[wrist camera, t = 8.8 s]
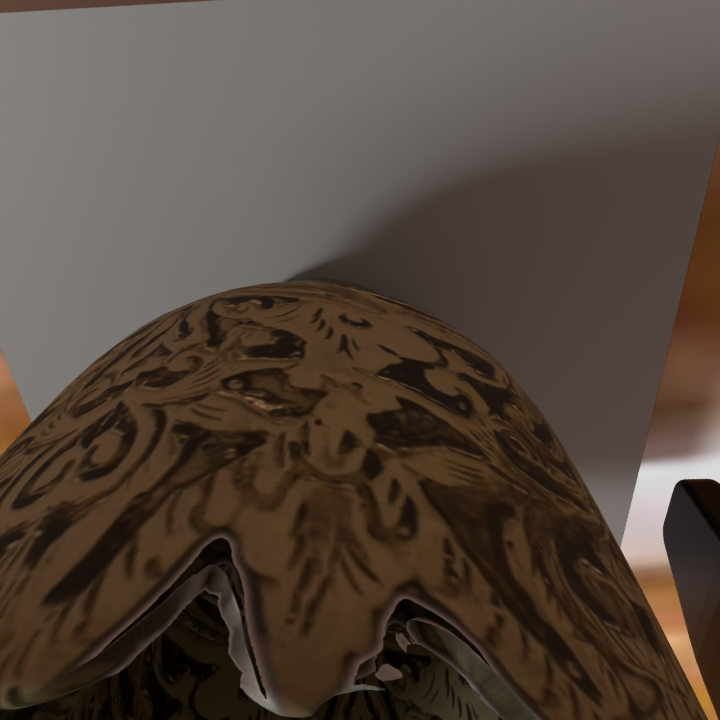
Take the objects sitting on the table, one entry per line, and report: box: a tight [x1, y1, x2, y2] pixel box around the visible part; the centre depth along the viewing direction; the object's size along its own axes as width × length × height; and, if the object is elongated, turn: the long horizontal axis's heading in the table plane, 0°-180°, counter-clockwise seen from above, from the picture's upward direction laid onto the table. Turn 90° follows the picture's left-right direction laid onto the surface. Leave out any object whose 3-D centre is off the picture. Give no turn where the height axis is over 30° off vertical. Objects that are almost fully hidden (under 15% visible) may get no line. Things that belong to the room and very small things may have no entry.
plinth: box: [0, 0, 720, 547], centre depth 13 cm, size 11×11×3 cm
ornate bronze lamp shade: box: [0, 278, 708, 720], centre depth 8 cm, size 8×7×8 cm
